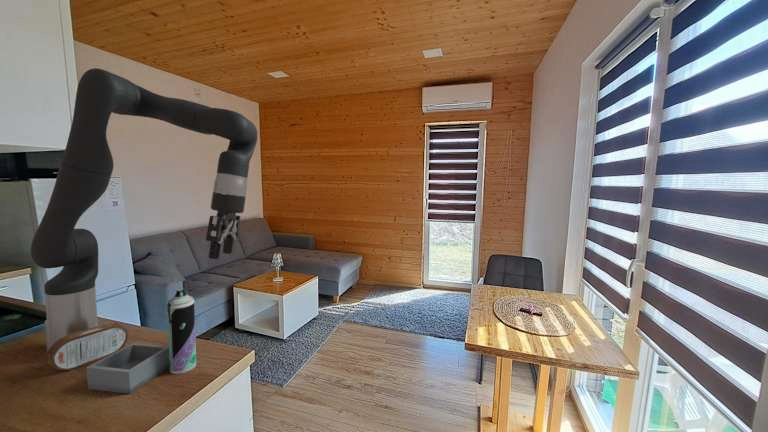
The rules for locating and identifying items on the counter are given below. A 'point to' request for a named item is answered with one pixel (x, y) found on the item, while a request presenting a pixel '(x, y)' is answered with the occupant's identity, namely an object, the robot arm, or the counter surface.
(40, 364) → the counter surface
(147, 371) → the box
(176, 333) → the spray can
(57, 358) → the tin
